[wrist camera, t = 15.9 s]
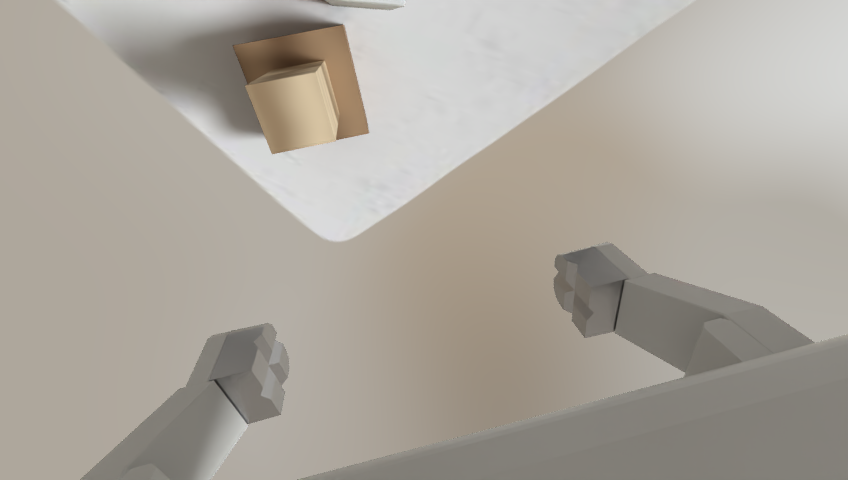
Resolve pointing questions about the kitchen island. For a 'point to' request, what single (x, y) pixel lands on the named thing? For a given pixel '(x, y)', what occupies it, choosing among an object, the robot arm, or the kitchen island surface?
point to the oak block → (295, 106)
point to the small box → (369, 3)
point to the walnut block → (310, 49)
